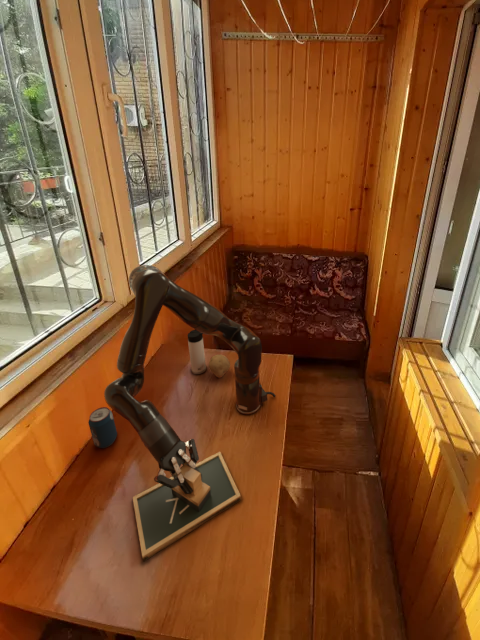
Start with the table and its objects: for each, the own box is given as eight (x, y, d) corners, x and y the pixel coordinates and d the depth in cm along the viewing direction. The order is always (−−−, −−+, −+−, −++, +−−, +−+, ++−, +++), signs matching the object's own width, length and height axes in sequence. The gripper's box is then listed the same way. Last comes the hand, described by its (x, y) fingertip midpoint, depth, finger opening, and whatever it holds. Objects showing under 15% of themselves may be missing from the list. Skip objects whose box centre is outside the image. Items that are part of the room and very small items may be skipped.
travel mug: (202, 375, 136) (198, 337, 130) (189, 373, 138) (184, 335, 131) (209, 366, 142) (205, 328, 135) (195, 364, 143) (191, 327, 137)
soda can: (120, 430, 110) (114, 404, 106) (113, 448, 104) (107, 421, 100) (99, 433, 109) (92, 407, 105) (91, 451, 102) (83, 424, 98)
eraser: (172, 494, 89) (168, 472, 86) (185, 478, 93) (181, 457, 90) (198, 512, 85) (195, 490, 82) (211, 495, 89) (208, 473, 86)
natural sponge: (224, 365, 143) (222, 346, 140) (234, 375, 137) (233, 356, 134) (206, 374, 137) (204, 355, 134) (216, 385, 131) (215, 365, 128)
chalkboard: (220, 455, 102) (220, 451, 101) (240, 500, 89) (240, 495, 88) (133, 501, 88) (132, 497, 88) (143, 561, 76) (142, 556, 75)
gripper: (142, 454, 79) (183, 510, 78) (183, 414, 91) (218, 462, 90) (131, 459, 83) (170, 513, 82) (172, 420, 95) (206, 467, 94)
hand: (195, 486), depth 86 cm, fingers closed on eraser, 3 cm apart
